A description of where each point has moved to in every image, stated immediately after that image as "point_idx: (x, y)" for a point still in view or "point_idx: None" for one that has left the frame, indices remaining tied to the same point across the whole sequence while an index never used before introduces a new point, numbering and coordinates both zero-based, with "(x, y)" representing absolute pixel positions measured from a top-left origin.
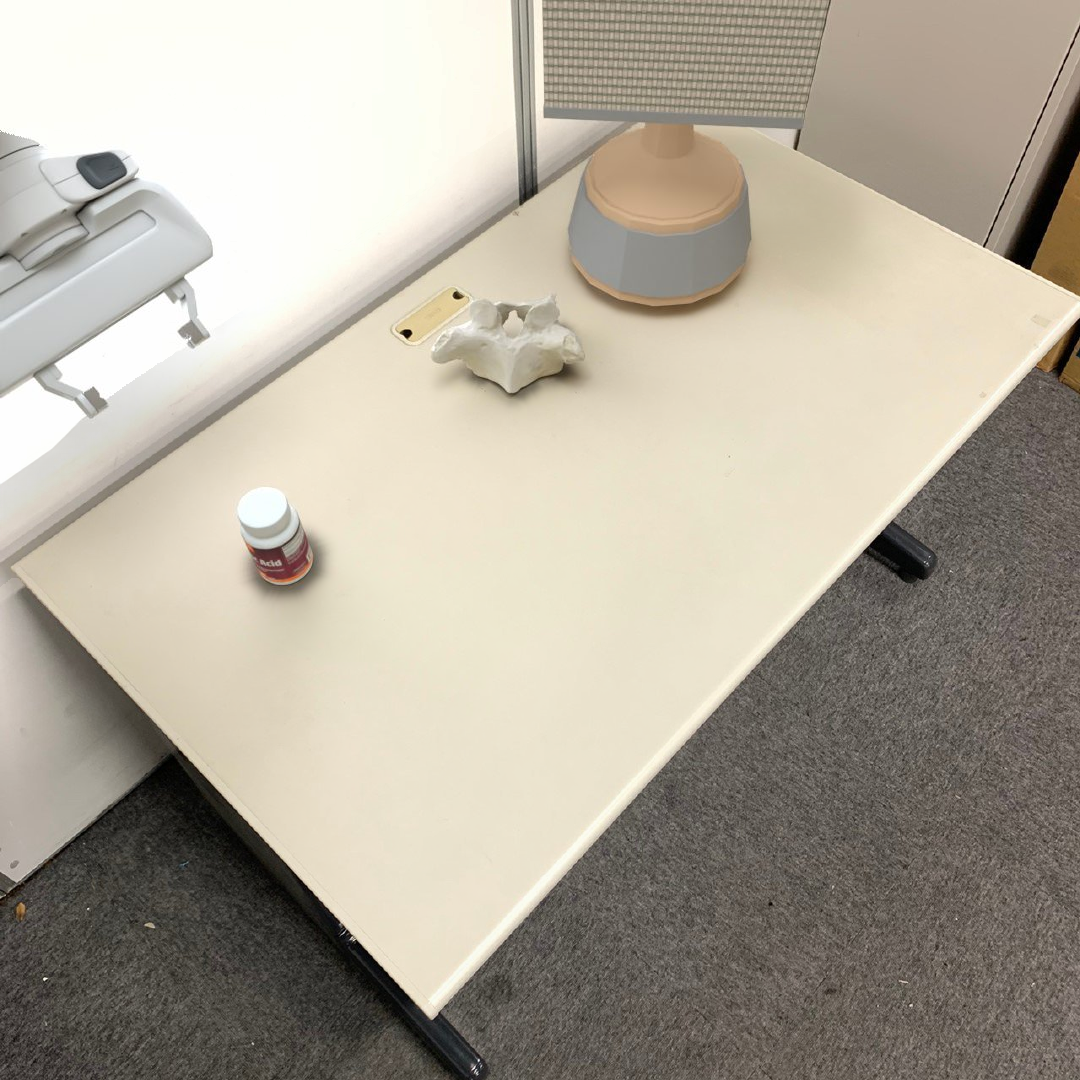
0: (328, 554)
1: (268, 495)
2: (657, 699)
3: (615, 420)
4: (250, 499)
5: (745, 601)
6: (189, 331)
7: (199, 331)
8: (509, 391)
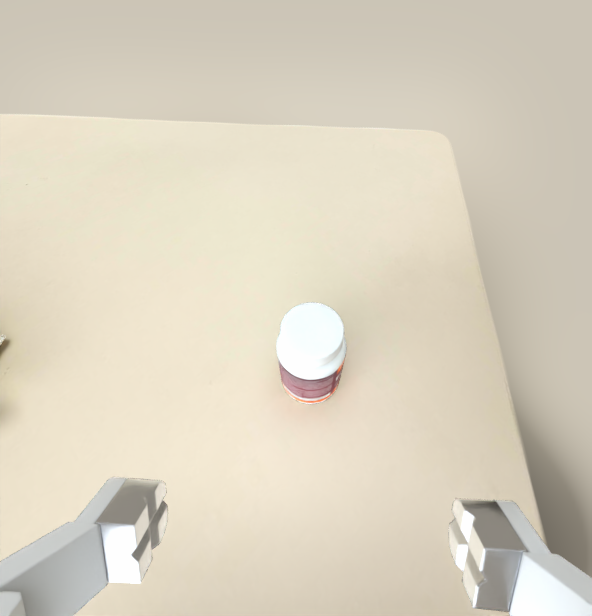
0: (276, 351)
1: (294, 335)
2: (234, 136)
3: (12, 256)
4: (313, 347)
5: (145, 134)
6: (135, 503)
7: (120, 490)
8: (3, 335)
